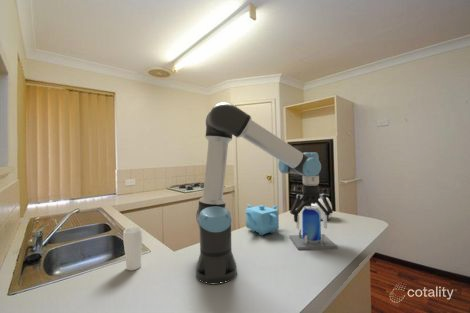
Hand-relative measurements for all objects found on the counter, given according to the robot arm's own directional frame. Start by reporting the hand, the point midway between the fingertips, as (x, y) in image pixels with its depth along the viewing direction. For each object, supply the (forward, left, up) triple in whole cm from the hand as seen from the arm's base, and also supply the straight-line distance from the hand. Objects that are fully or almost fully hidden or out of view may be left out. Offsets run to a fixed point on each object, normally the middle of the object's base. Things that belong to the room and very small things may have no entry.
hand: (311, 228), depth 106 cm
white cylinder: (-78, -17, -7) cm, 80 cm away
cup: (+21, +37, -7) cm, 43 cm away
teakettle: (-22, +18, -7) cm, 29 cm away
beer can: (0, 0, -6) cm, 6 cm away
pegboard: (0, 0, -7) cm, 7 cm away
